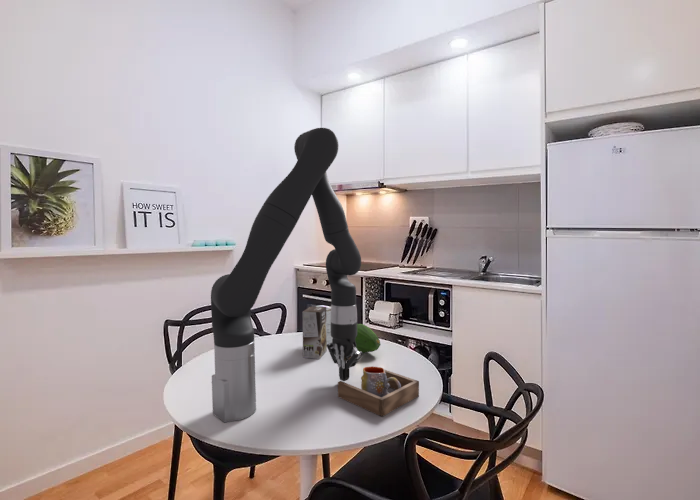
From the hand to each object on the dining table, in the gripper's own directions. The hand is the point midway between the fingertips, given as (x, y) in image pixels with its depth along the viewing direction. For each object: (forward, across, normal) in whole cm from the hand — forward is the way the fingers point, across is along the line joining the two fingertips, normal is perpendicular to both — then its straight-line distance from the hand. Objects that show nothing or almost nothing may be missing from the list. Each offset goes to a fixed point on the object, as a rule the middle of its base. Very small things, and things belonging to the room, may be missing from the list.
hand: (344, 379), depth 108 cm
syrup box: (+1, -32, +18) cm, 36 cm away
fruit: (+1, -15, +22) cm, 26 cm away
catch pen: (+1, +13, +1) cm, 13 cm away
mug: (+1, +13, +1) cm, 13 cm away
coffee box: (+1, -25, +10) cm, 27 cm away
